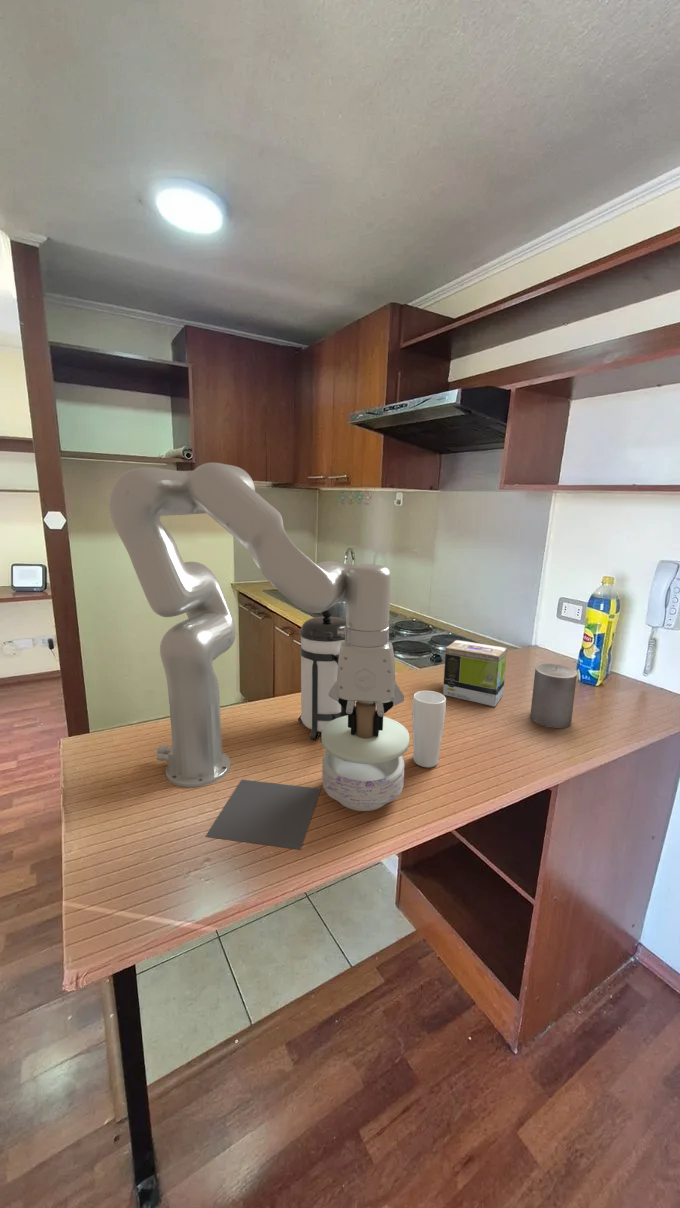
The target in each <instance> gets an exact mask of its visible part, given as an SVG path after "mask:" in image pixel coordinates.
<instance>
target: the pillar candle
mask: <svg viewBox="0 0 680 1208" xmlns="http://www.w3.org/2000/svg"><path fill="white" fill-rule="evenodd" d="M534 669H535V670H534V677H533V678H534V680H533V688H532V696H531V706H530V714H529V717H530V719H531V720H532V721H533V722H534V723H536V724H538V725H540V726H543V727H546V728H555V729H566V728H568V727H570V726H571V723H572V719H573V713H574V705H575V704H574V702H575V693H576V686H577V679H578V678H577V677H578V672H577V671H576V670H575V669H573V668H572V667H569V666H566V665H563V664H556V663H540V664H538V665H536V666H535V668H534Z"/></svg>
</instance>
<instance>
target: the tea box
mask: <svg viewBox="0 0 680 1208" xmlns="http://www.w3.org/2000/svg"><path fill="white" fill-rule="evenodd" d="M507 651H508V648H507V647H504V646H499V645H498V646H497V645H492V644H491V645H490V644H486V643H485V644H484V643H479V642H473V641H466V640H460V639H456V640H454V641H453V642H452V643H451V644H449V645H447V646H446V647H445V653H444V654H445V655H444V670H443V673H444V674H443V687H442V688H443V692H442V695H444V696H446V697H452V698H455V699H460V700H464V701H469V702H473V703H477V704H482V705H486V706H490V707H493V708H495V707H496V706H497V705H498V703H499V701H500V700H501V699H502V697H503V695H504V689H505V677H506V664H507V653H508V652H507Z"/></svg>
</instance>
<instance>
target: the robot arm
mask: <svg viewBox="0 0 680 1208" xmlns="http://www.w3.org/2000/svg"><path fill="white" fill-rule="evenodd" d="M111 488H112V489H111V492H110V497H109V504H108V505H109V513H110V518H111V520H112V521H111V522H112V524H113V525H114V529H115V530H116V532H117V534H118V536H119V538H120V540H121V542H122V544H123V545H124V547H125V550H126V552H127V555H129V559H130V561H131V564H132V566H133V569H134V571H135V574H136V576H137V579H138V581H139V583H140V586H141V588H142V591H143V593H144V596H145V598H146V600H147V602H148V604H149V606H150V608H151V610H152V611H153V612H154V613H155V614H157V615H158V616H159V617H163V618H172V617H176V616H180V615H183V614H186V616H187V619H185V620H183V621H180V622H178V623H176V624H174V625H173V626H171V628H169V629H168V630H167V631H166V632H165V634H164V635H163V636H162V639H161V641H160V646H159V654H160V655H159V656H160V659H161V662H162V666H163V669H164V674H165V679H166V683H167V684H166V685H167V695H168V704H169V717H170V718H169V719H170V730H171V731H170V732H171V744H172V745H171V746H169V745H163V744H160V745H159V746H158V747H157V748H156V752H157V754H156V760H157V761H160V762H161V761H163V762H164V761H166V762H167V763H168V764H167V766H166V769H165V776H166V779H167V780H168V782H169V783H171V785H174V786H178V787H180V788H198V787H200V788H201V787H205V786H207V785H211V784H213V783H215V782H217V781H220V780H221V779H222V778H223V777H225V776H226V775H227V774H228V773H229V771H230V769H231V759H230V756H228V754H227V753H225V752H223V746H222V745H223V742H222V741H223V739H222V723H221V719H222V718H221V702H220V701H221V698H220V687H219V680H218V677H217V674H216V673H215V670H214V666H213V662H214V661H215V660H216V659H218V657H220V656H222V655H223V654H225V653H226V652H227V651H228V650H230V648H232V646H233V644H234V643H235V640H236V635H237V632H236V626H235V621H234V619H233V615H232V613H231V611H230V609H229V605H228V603H227V600H226V599H225V596H224V592H223V590H222V588H221V586H220V583H219V580H218V578H217V577H216V574H214V573H213V571H212V570H211V569H210V568H209V567H208V566H206V565H205V564H203V563H200V562H198V561H186V562H184V560H183V558H182V556H181V554H180V551H179V549H178V546H177V543H176V541H175V539H174V537H173V535H171V533H170V532H169V530H168V529H167V528H166V527H165V525H163V523H162V521H160V520H161V519H160V517H162V516H163V517H164V516H165V517H167V516H188V515H201V514H207V515H208V516H209V517H210V518H212V520H214V521H215V523H218V524H219V525H220V526H221V527H222V528H223V529H225V530H226V531H227V533H229V534H230V535H231V536H233V537H234V539H236V541H238V542H239V543H240V544H241V545H242V546H244V548H246V550H248V552H249V555H250V557H251V559H252V560H253V563H255V565H256V566H257V568H258V569H259V571H260V572H261V574H262V575H263V576H264V578H265V579H266V580H267V581H268V582H269V583H270V585H272V586H273V588H275V589H276V590H277V591H279V593H281V594H282V595H283V596H284V597H286V599H287V600H289V601H290V602H291V603H292V604H294V605H295V606H296V607H298V608H300V609H301V610H304V611H305V612H309V613H315V614H318V613H320V614H321V613H322V612H324V611H326V610H328V609H331V608H332V607H333V606H334V605H335V604H338V603H340V602H345V620H346V626H345V627H342V628H338V631H337V634H338V635H340V636H344V638H345V640H344V641H343V642H342V643H341V647H340V652H339V659H338V670H337V681H336V682H335V684H334V685H333V687H332V688H331V690H330V692H329V694H328V695H329V696H330V697H331V698H333V699H334V700H336V701H338V702H339V704H340V705H341V706H342V707H343V708H344V709H345V710H346V713H347V714H348V728H351V735H354V734H355V732H356V702H357V701H364V702H376V714H375V719H374V736H375V737H378V734H379V730H381V731H382V730H383V717H385V714H387V712H388V711H390V710H391V709H392V708H393V707H394V706H398V705H400V704H402V703H404V701H405V695H404V694H403V692H402V690H401V689H400V686H398V683H397V682H396V665H395V664H396V663H395V654H394V646H393V643H392V642H390V641H389V640H390V610H391V609H390V608H391V605H390V604H391V581H392V580H391V572H390V570H389V568H388V567H386V566H384V565H381V564H373V563H372V564H371V563H369V564H368V563H367V564H366V563H364V564H352V563H351V564H350V563H345V562H340V561H333V560H325V561H321V562H318V563H315V562H314V561H313V560H312V559H311V558H310V557H308V556H307V555H306V554H305V553H303V551H302V550H300V549H299V548H298V547H297V546H296V545H295V544H294V542H293V541H292V540H291V539H290V538H289V536H288V534H287V532H286V530H285V527H284V521H283V519H284V518H283V517H282V514H281V513H280V512H279V510H277V509H276V508H275V507H274V506H273V505H272V504H270V503H269V502H268V501H267V500H266V499H265V498H263V497H262V496H261V495H260V494H259V493H258V492H256V486H255V483H254V481H253V479H252V477H251V475H250V474H249V473H248V472H247V471H246V470H245V469H243V468H241V467H239V466H236V465H232V464H225V463H221V462H206V463H203V464H200V465H199V466H197V467H196V468H194V469H193V470H174V469H173V470H172V469H166V468H158V467H151V466H148V467H146V466H143V467H136V468H133V469H130V470H127V471H125V472H124V473H122V474H121V475H120V476H119V477H118V478H117V480H116V481H115V482H114V484H113V486H112V487H111Z"/></svg>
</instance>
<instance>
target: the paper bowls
mask: <svg viewBox="0 0 680 1208" xmlns="http://www.w3.org/2000/svg"><path fill="white" fill-rule="evenodd" d="M321 761H322V765H321V766H322V767H321V768H322V770H321V772H322V773H321V774H322V775H321V777H322V779H321V781H322V787H323V789H324V791H325V793H326V794H327V795H328V796H329V797H330V798H331V799H334V800H335V801H337V802H338V803H340V804H341V805H342V806H343V807H345V808H347V809H350V810H353V811H357V812H371V811H375V810H378V809H381V808H382V807H383V806H385V805H386V804H389V803H391V802H392V801H395V799H397V798H398V797H399V796H400V794H401V793H402V791H403V788H404V781H405V761H404V757H403V755H401V756H400V757H398V758H396V759H394V760H391V761H388V762H383V763H376V764H359V763H353V762H348V761H345V760H341V759H339V758H337V757H335V756H333V755H331V754H330V753H329V752H327V751H326V750H325V753H324V754H323V756H322V760H321Z"/></svg>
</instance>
